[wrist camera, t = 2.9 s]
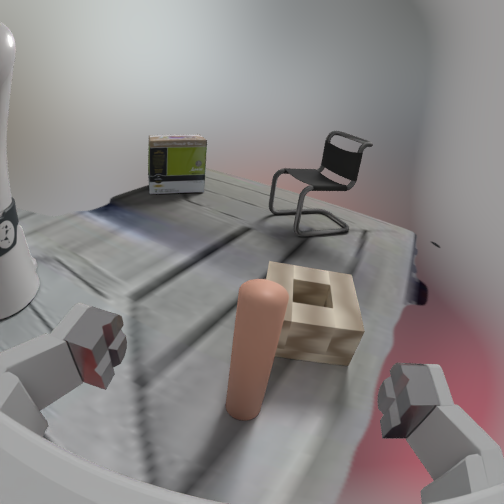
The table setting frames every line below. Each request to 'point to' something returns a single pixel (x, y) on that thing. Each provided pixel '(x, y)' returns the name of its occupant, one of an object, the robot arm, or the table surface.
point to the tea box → (176, 163)
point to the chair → (324, 181)
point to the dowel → (254, 345)
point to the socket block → (318, 315)
